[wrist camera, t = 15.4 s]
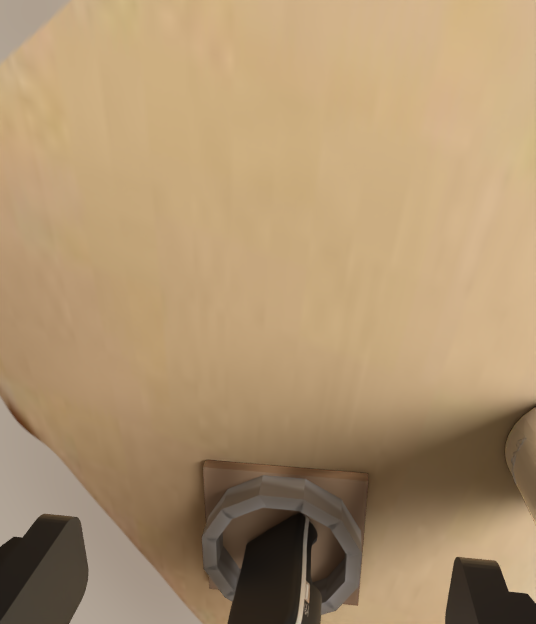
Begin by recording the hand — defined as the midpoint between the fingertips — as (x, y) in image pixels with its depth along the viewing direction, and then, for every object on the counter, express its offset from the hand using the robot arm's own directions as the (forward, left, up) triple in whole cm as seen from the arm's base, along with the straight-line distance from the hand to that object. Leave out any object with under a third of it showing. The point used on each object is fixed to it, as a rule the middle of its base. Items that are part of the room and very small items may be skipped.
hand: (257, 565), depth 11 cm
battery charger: (+2, +26, -27) cm, 38 cm away
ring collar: (+2, +26, -28) cm, 38 cm away
